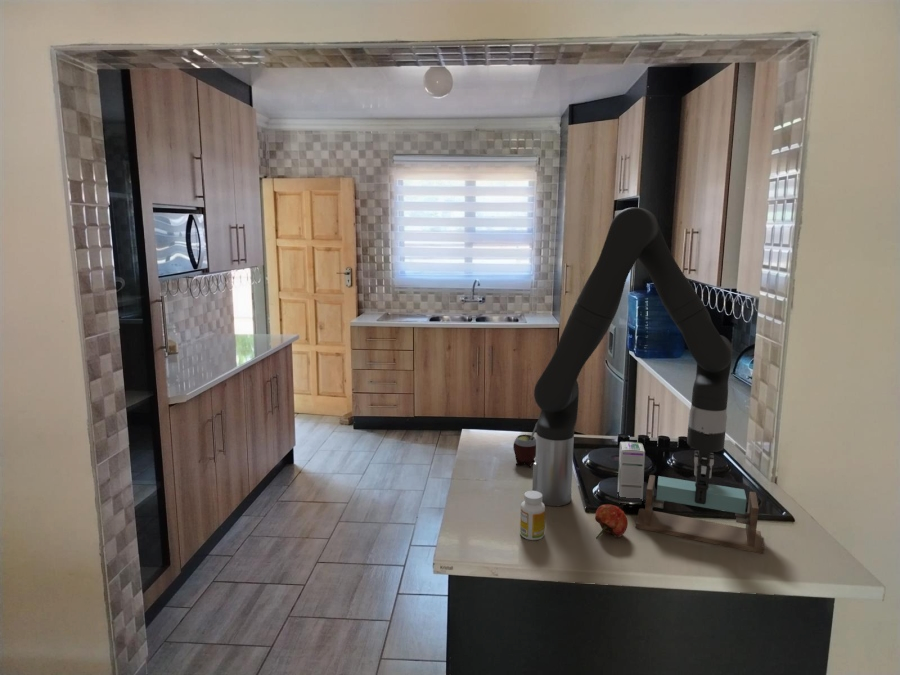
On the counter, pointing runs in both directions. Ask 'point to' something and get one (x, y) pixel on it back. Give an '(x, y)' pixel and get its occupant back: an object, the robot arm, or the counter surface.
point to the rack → (702, 524)
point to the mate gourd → (525, 449)
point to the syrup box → (631, 470)
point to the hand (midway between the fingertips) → (700, 497)
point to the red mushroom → (611, 519)
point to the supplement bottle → (532, 516)
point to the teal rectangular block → (715, 495)
